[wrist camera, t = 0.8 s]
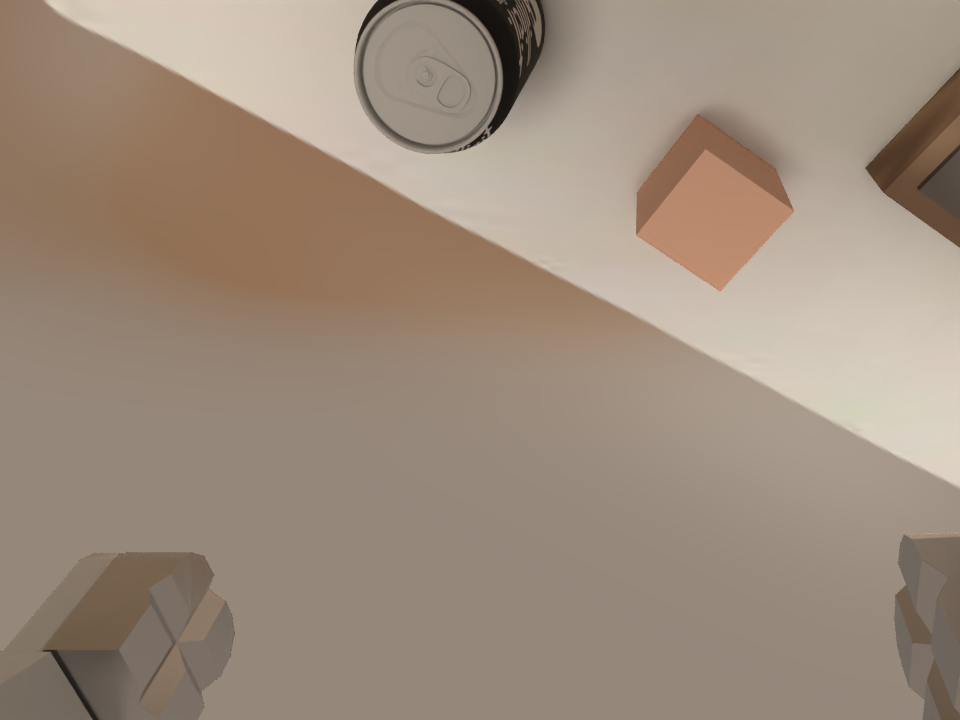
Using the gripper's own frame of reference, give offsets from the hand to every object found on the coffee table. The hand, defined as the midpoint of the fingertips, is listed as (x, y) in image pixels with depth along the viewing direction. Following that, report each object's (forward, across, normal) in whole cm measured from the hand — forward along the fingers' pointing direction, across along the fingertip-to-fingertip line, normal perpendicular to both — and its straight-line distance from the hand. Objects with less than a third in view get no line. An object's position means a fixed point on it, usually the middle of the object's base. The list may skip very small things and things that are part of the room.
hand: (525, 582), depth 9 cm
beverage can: (+36, +6, -2) cm, 37 cm away
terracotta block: (+36, -4, +7) cm, 37 cm away
